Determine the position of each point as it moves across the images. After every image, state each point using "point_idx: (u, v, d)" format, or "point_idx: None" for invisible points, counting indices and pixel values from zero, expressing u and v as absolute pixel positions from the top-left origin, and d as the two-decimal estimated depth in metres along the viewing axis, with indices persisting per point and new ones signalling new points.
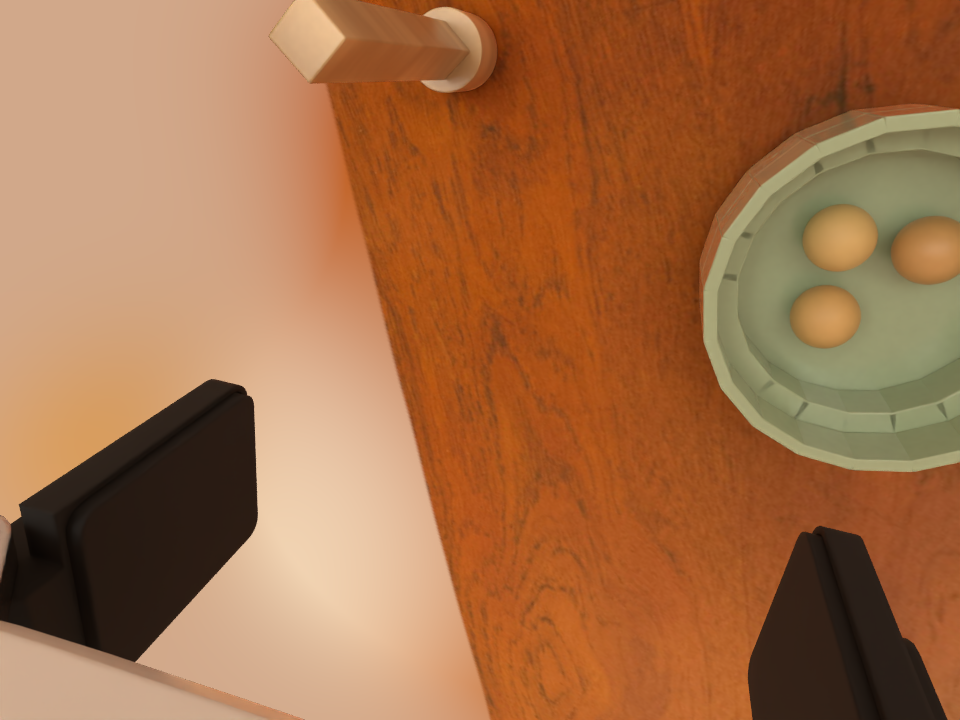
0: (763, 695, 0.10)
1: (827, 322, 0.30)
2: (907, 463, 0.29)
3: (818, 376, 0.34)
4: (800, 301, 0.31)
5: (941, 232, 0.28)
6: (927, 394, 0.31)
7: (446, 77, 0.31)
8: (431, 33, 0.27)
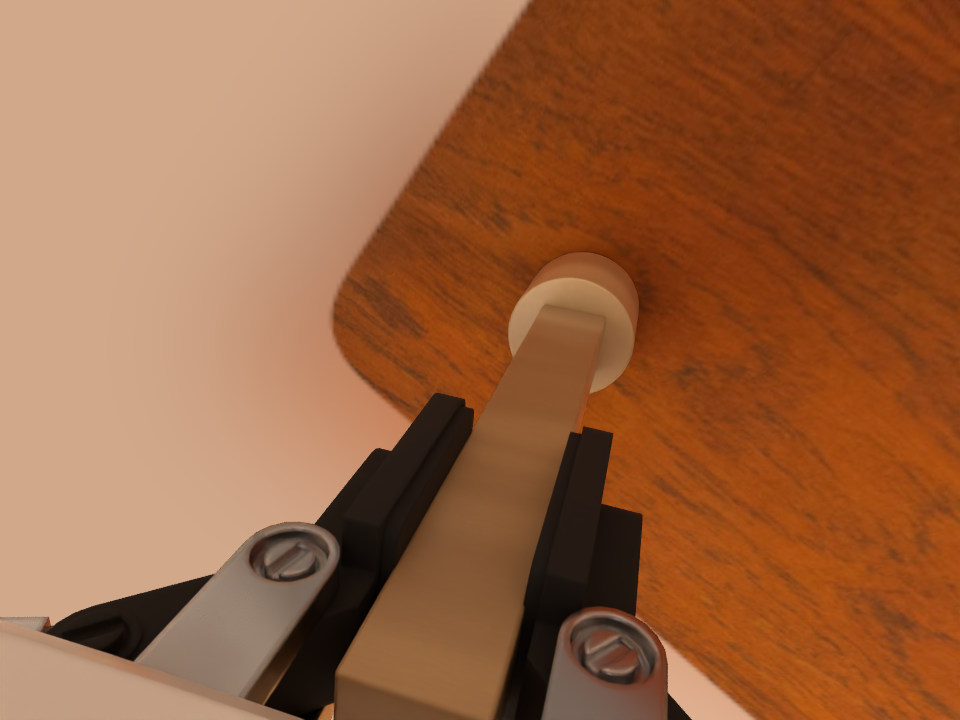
0: None
1: None
2: None
3: None
4: None
5: None
6: None
7: (596, 369, 0.19)
8: (557, 366, 0.15)
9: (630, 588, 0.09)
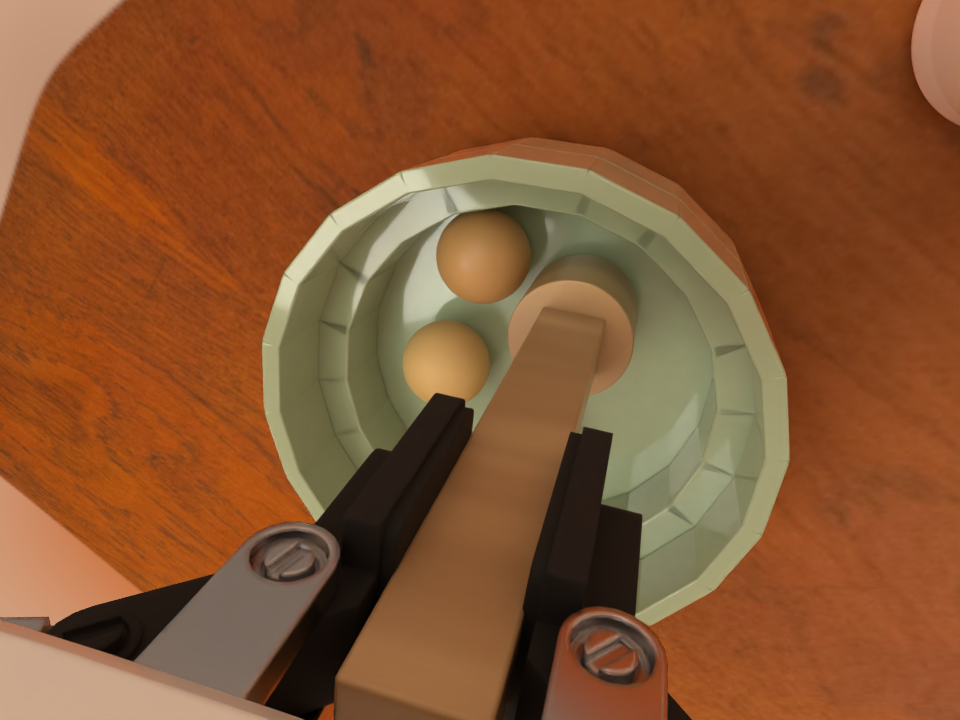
0: None
1: None
2: (696, 584, 0.19)
3: None
4: None
5: None
6: (696, 453, 0.21)
7: (595, 371, 0.19)
8: (556, 369, 0.15)
9: (630, 588, 0.09)
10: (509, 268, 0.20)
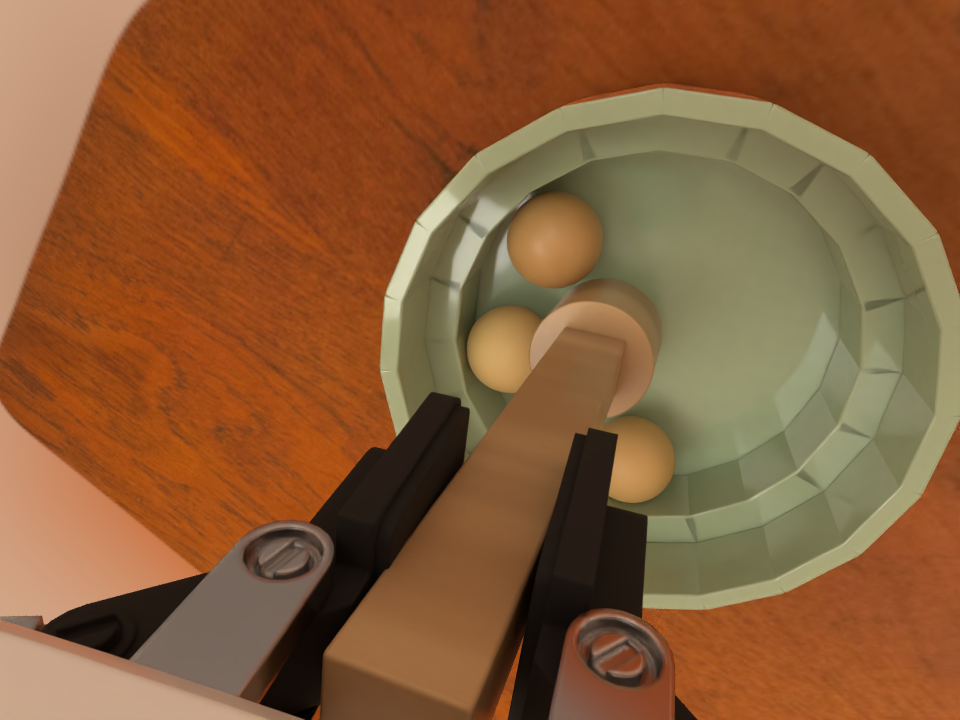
0: None
1: None
2: (842, 548, 0.19)
3: (704, 457, 0.24)
4: None
5: None
6: (826, 416, 0.21)
7: (615, 393, 0.19)
8: (572, 384, 0.15)
9: (636, 590, 0.09)
10: (557, 279, 0.20)
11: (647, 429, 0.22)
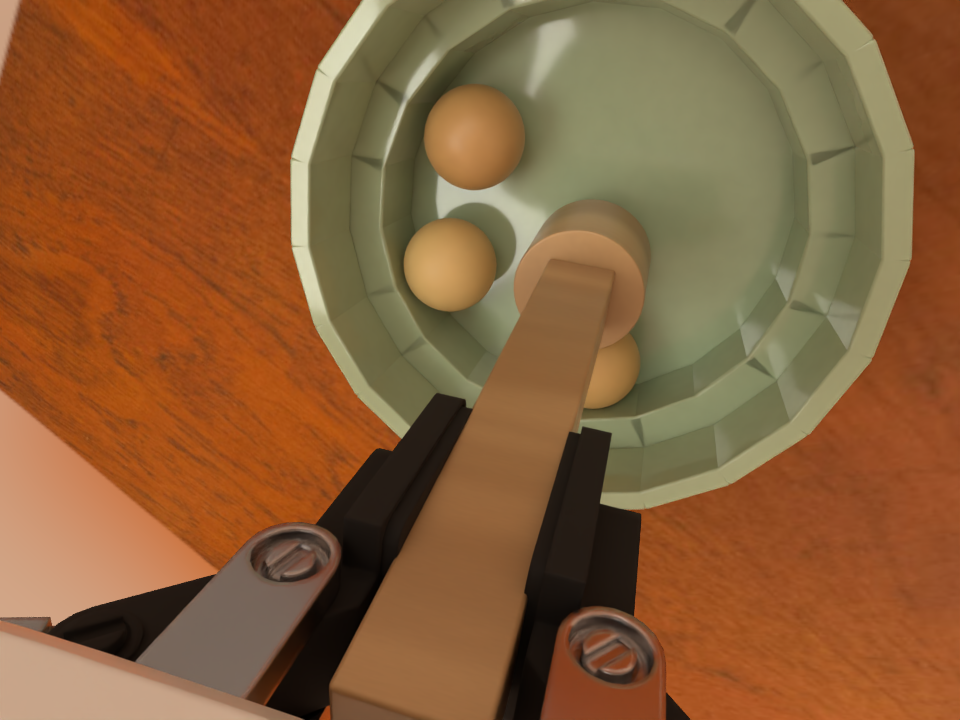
0: None
1: None
2: (789, 428, 0.17)
3: (657, 363, 0.23)
4: None
5: None
6: (778, 298, 0.19)
7: (605, 324, 0.18)
8: (562, 330, 0.14)
9: (629, 588, 0.09)
10: (474, 187, 0.20)
11: None
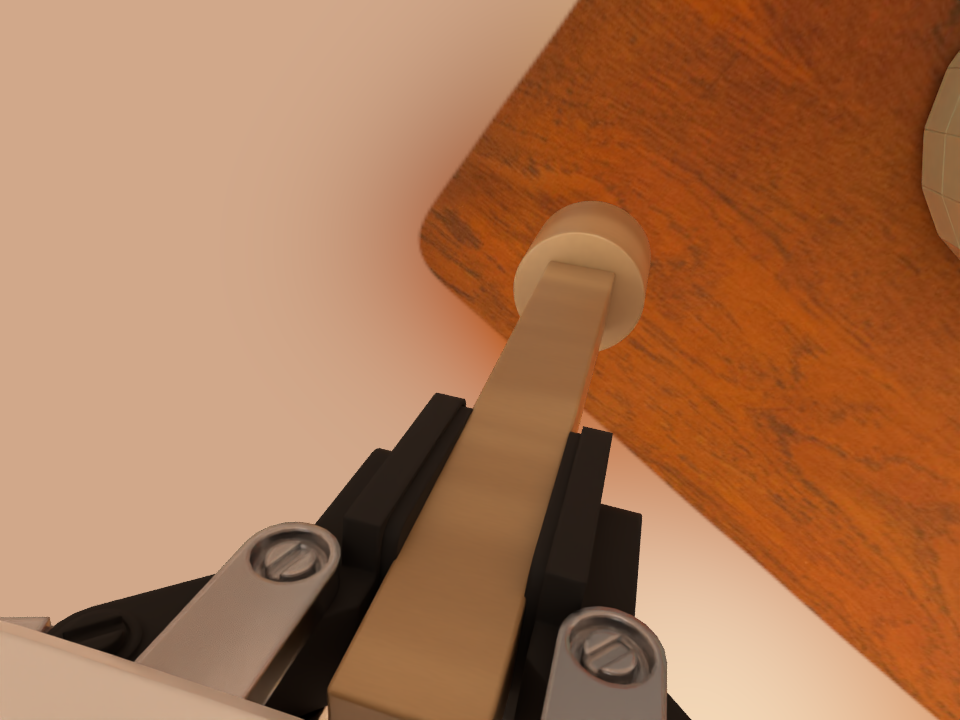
0: None
1: None
2: None
3: None
4: None
5: None
6: None
7: (605, 326, 0.18)
8: (562, 332, 0.14)
9: (629, 588, 0.09)
10: None
11: None
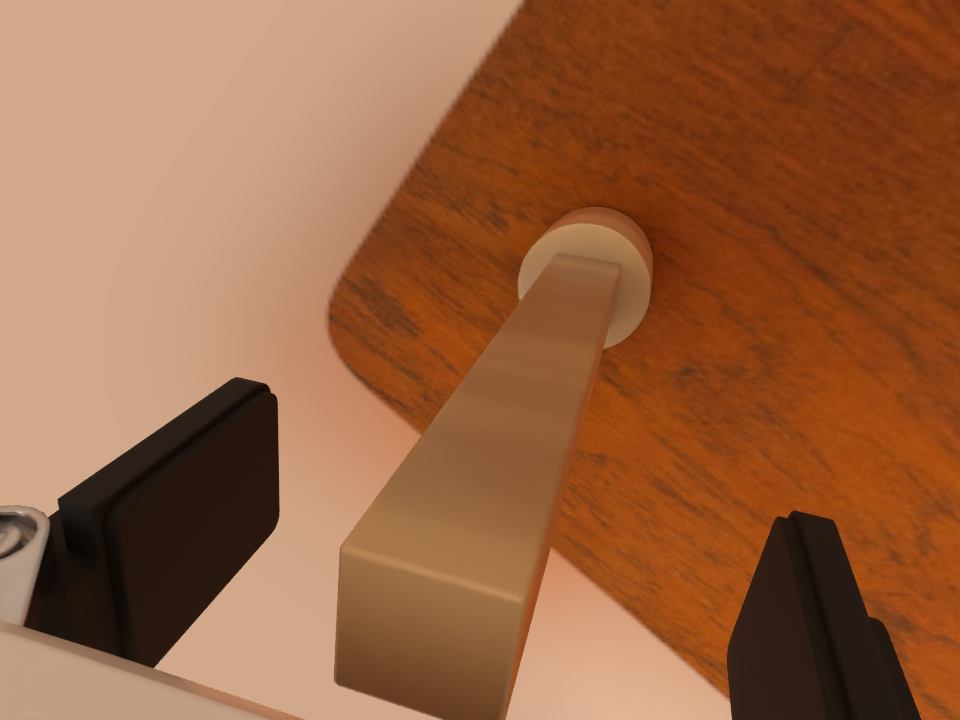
0: (740, 675, 0.10)
1: None
2: None
3: None
4: None
5: None
6: None
7: (610, 321, 0.18)
8: (574, 299, 0.14)
9: None
10: None
11: None
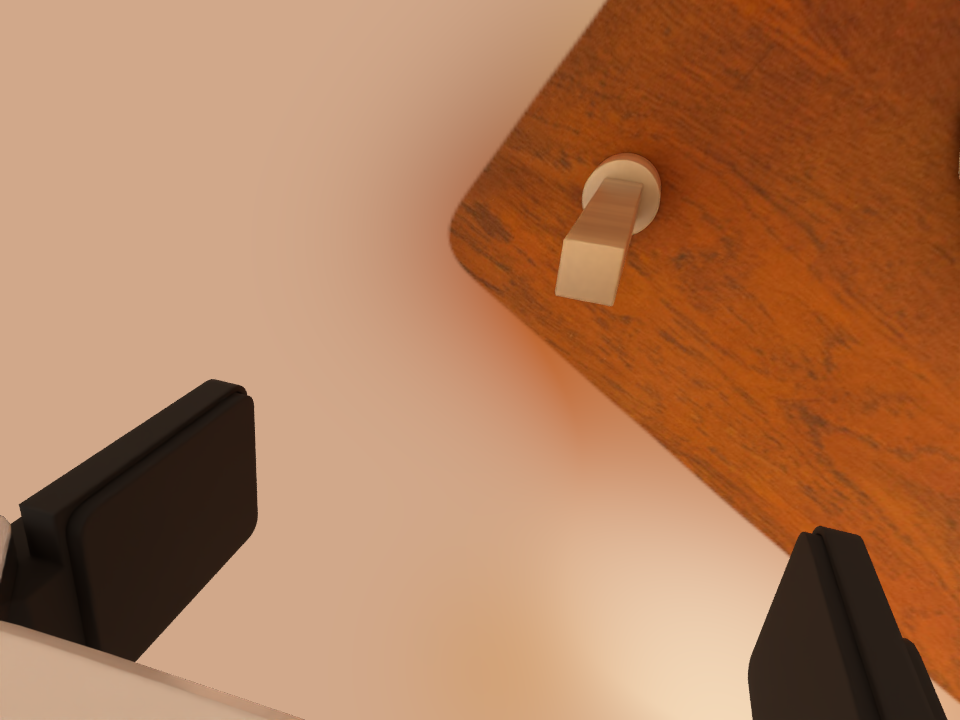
0: (763, 695, 0.10)
1: None
2: None
3: None
4: None
5: None
6: None
7: (636, 217, 0.31)
8: (621, 194, 0.27)
9: None
10: None
11: None
